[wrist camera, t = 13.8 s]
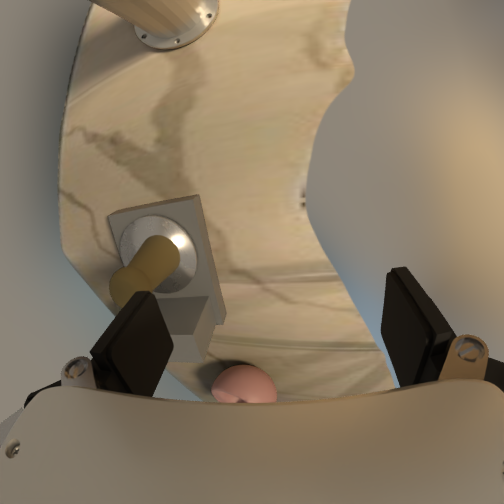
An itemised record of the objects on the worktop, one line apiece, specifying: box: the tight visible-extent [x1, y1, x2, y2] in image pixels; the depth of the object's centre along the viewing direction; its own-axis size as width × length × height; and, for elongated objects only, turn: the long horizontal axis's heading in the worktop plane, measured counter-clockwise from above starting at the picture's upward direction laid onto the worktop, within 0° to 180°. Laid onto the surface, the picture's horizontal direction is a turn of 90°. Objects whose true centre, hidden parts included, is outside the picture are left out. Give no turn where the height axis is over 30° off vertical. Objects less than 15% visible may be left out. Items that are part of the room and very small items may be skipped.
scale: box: [108, 194, 226, 363], centre depth 38 cm, size 20×14×12 cm
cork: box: [109, 235, 180, 308], centre depth 33 cm, size 6×6×11 cm
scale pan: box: [120, 214, 198, 294], centre depth 38 cm, size 12×12×1 cm
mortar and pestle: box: [211, 365, 277, 403], centre depth 46 cm, size 12×12×11 cm
